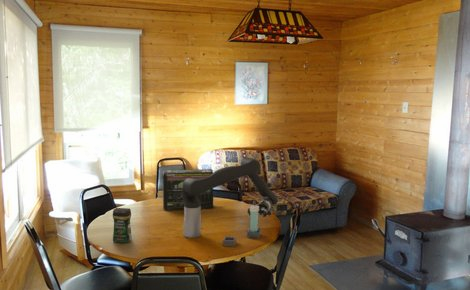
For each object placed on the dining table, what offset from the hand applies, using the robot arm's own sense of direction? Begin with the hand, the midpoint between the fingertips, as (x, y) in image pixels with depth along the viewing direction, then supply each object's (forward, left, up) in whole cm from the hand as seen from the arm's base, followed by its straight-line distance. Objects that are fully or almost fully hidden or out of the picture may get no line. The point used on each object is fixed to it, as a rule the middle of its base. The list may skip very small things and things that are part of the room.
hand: (256, 214), depth 244 cm
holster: (-13, -20, -11) cm, 26 cm away
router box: (-52, +45, -11) cm, 70 cm away
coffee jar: (-72, -25, -11) cm, 77 cm away
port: (-1, -5, -11) cm, 12 cm away
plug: (-1, -5, -10) cm, 11 cm away
